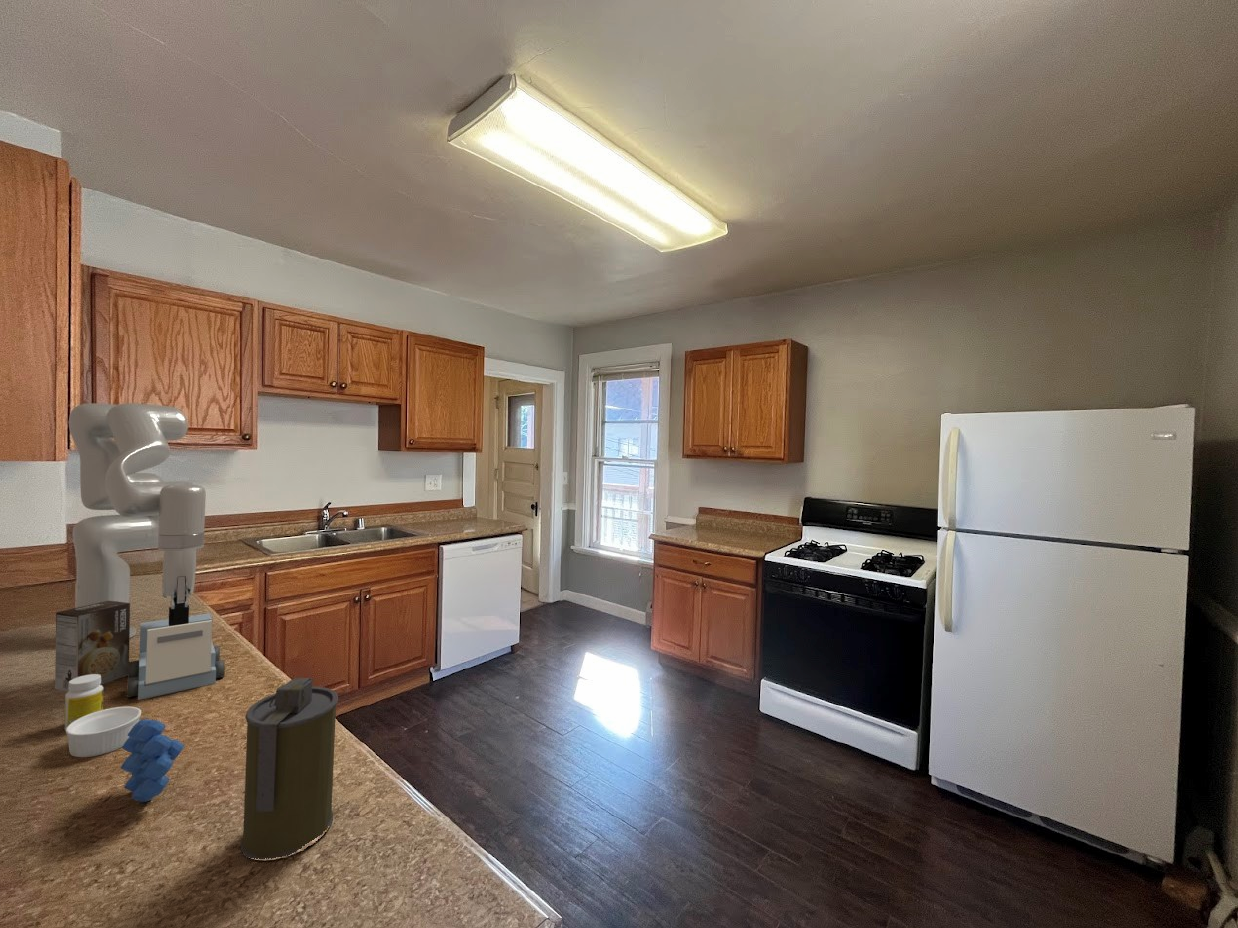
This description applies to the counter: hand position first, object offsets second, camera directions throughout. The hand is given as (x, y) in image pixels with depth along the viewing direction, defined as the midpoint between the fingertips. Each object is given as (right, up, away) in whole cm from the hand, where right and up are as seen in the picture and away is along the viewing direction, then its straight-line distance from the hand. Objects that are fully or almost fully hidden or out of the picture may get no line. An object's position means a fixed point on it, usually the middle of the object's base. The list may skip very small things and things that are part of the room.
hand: (178, 624), depth 108 cm
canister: (+51, -15, -41) cm, 68 cm away
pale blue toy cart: (-1, -12, 0) cm, 12 cm away
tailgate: (+5, -9, -6) cm, 12 cm away
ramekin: (+9, -13, -24) cm, 29 cm away
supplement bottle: (0, -12, -19) cm, 22 cm away
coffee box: (-15, -11, -4) cm, 19 cm away
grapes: (+28, -14, -36) cm, 48 cm away
